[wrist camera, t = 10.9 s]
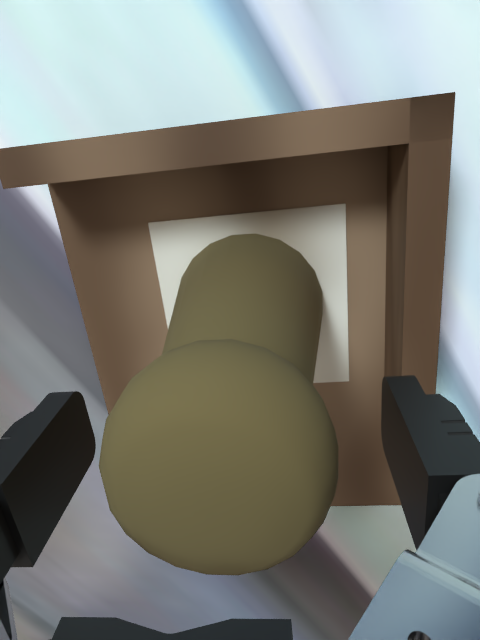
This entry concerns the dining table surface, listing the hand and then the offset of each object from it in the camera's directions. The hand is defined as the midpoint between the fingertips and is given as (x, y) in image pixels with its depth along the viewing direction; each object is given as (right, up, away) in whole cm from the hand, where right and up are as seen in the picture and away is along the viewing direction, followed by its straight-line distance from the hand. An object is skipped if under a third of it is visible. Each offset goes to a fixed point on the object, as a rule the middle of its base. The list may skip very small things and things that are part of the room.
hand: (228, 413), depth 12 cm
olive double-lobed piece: (+1, +3, +7) cm, 8 cm away
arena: (+1, +1, +8) cm, 8 cm away
